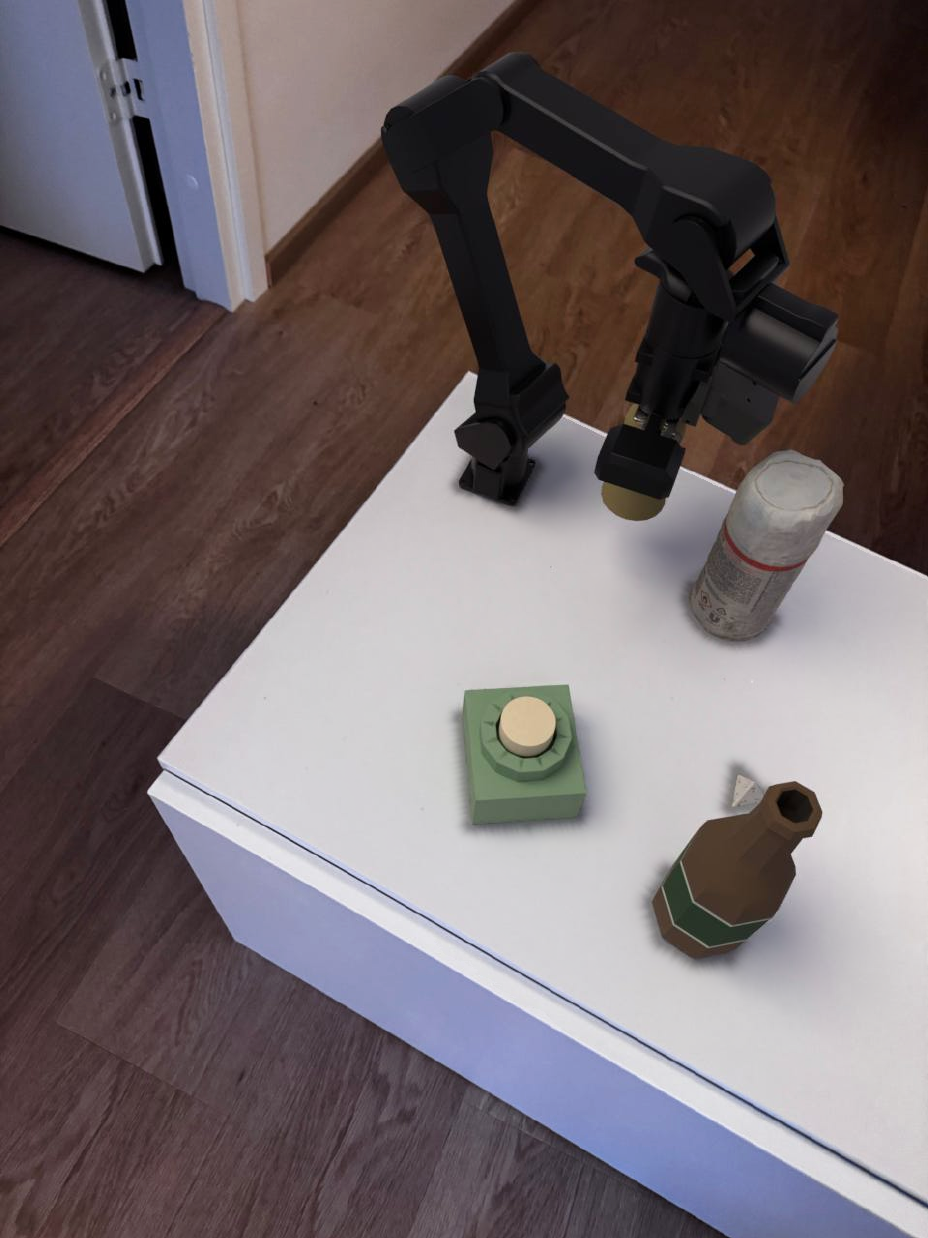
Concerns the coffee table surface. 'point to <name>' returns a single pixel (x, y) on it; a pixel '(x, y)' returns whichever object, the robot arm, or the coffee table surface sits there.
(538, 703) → the beige push button
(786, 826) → the beer bottle
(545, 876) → the coffee table surface
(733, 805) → the white speckled wedge
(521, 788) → the green button housing
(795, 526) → the spray can
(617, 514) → the olive game pawn
